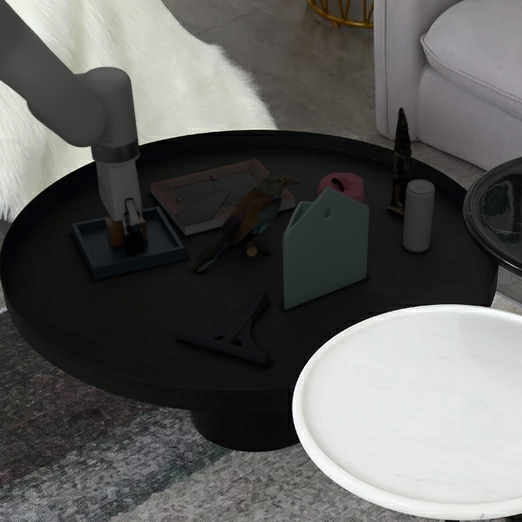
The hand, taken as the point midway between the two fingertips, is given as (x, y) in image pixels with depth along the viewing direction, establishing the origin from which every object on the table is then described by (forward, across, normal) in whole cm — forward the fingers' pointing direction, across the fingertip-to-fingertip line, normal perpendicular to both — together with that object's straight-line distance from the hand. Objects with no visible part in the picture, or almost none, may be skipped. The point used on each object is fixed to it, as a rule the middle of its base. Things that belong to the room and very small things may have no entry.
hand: (127, 239), depth 171 cm
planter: (+2, +22, +25) cm, 33 cm away
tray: (+2, 0, 0) cm, 2 cm away
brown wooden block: (+1, 0, 0) cm, 1 cm away
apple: (+2, +7, +37) cm, 38 cm away
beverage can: (+2, +19, +46) cm, 50 cm away
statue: (+2, +9, +49) cm, 50 cm away
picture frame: (+2, -8, +20) cm, 22 cm away
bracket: (+2, +29, +10) cm, 31 cm away
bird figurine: (+2, +10, +18) cm, 21 cm away
